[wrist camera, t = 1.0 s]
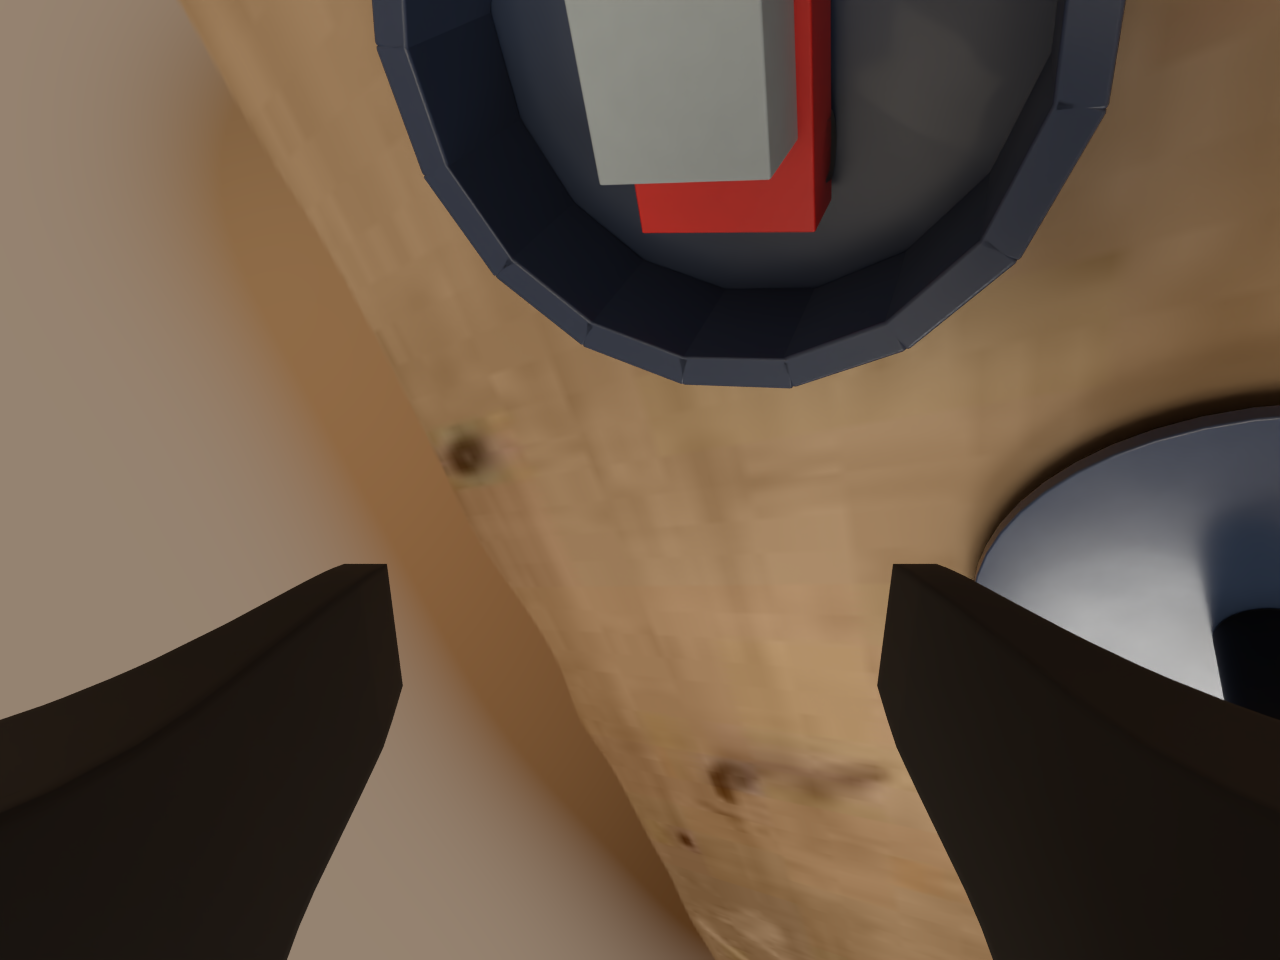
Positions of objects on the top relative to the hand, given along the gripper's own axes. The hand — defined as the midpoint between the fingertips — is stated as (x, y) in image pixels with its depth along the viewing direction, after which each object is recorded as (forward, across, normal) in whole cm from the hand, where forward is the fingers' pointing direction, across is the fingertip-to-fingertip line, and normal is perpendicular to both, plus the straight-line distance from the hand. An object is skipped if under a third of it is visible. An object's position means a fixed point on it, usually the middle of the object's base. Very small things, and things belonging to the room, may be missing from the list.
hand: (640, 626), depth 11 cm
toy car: (+9, +2, +9) cm, 13 cm away
